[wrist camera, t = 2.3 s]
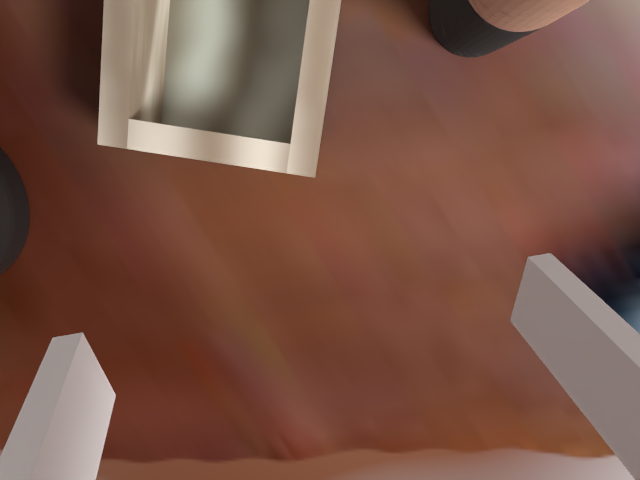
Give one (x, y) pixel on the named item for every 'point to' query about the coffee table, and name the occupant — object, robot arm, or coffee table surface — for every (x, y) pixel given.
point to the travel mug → (491, 22)
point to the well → (218, 79)
